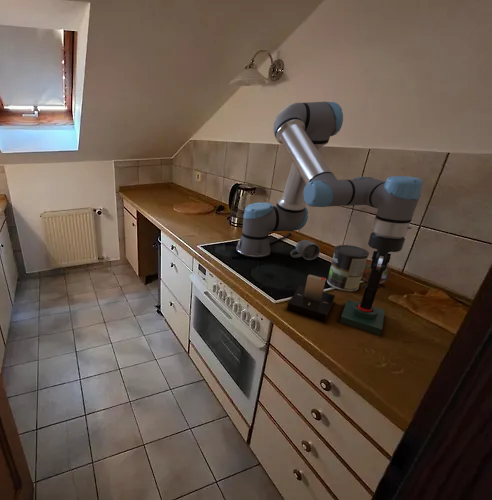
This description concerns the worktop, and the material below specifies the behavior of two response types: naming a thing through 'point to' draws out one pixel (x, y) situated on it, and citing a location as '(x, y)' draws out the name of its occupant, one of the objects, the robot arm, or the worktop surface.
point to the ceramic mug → (306, 250)
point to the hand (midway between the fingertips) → (365, 307)
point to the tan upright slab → (314, 288)
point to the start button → (364, 309)
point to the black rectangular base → (311, 305)
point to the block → (363, 317)
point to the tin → (367, 271)
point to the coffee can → (347, 267)
